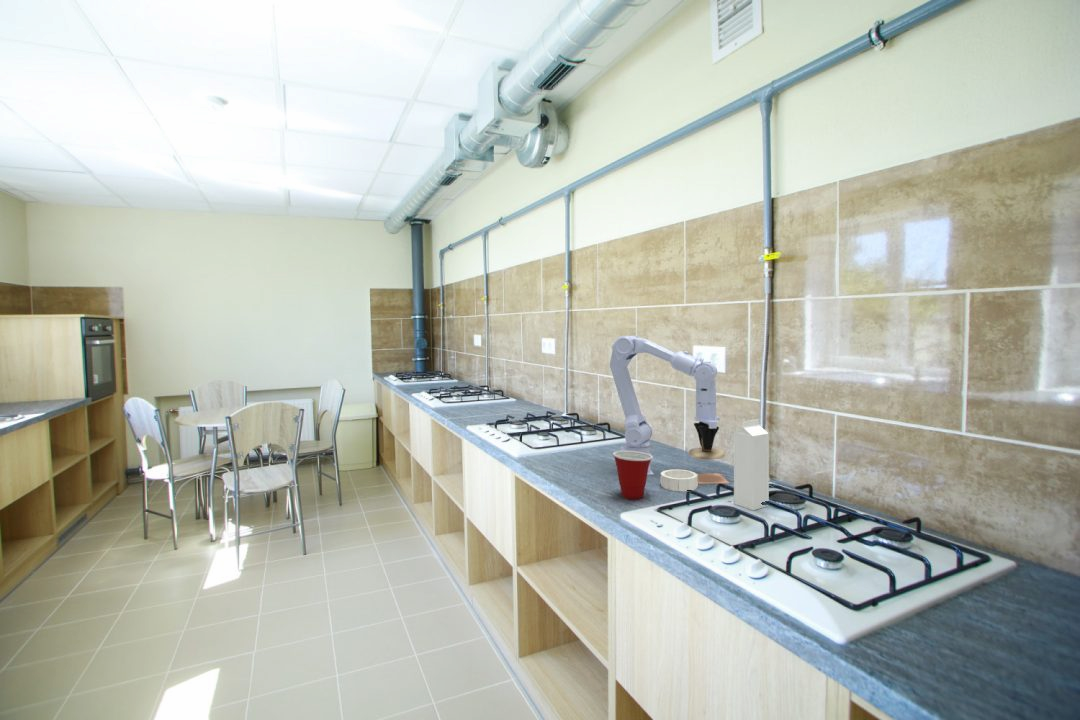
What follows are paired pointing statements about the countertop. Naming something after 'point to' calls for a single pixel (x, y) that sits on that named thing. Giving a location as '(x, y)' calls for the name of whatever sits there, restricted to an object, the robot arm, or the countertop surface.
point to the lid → (706, 453)
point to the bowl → (679, 480)
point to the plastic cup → (632, 472)
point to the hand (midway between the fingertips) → (706, 448)
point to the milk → (751, 465)
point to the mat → (711, 478)
